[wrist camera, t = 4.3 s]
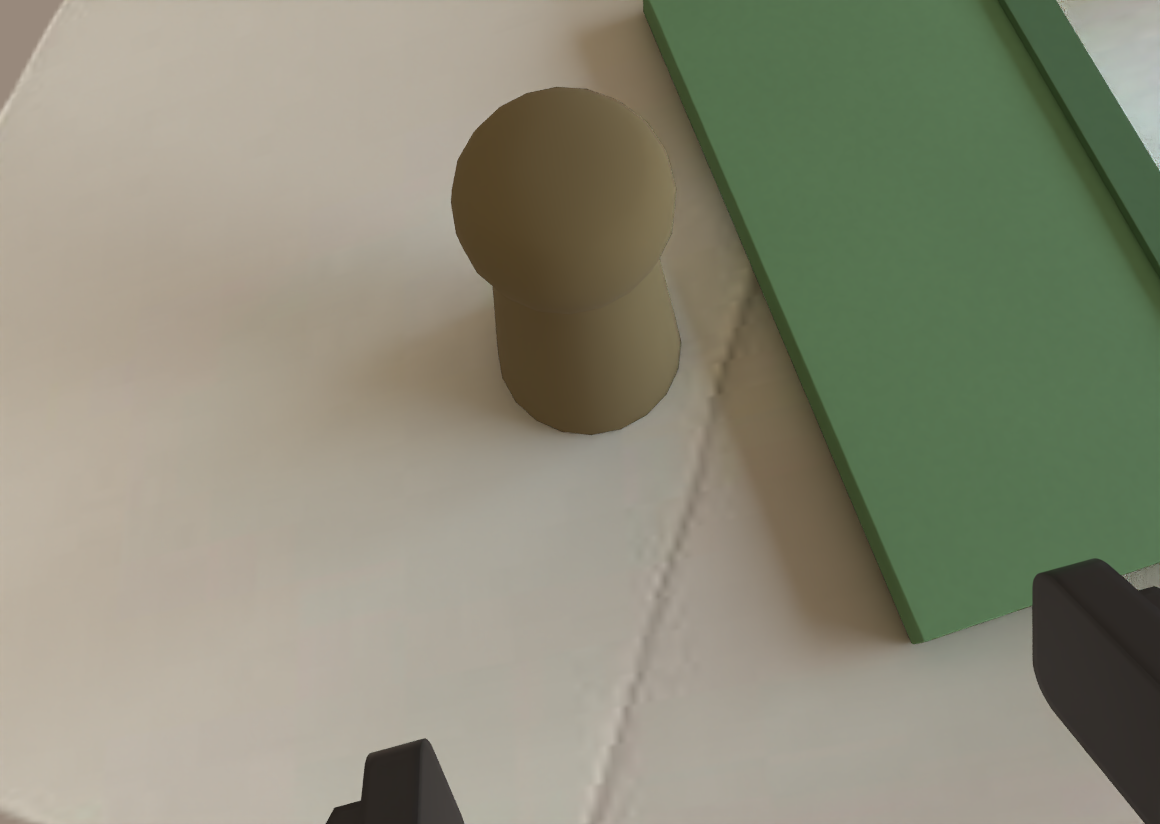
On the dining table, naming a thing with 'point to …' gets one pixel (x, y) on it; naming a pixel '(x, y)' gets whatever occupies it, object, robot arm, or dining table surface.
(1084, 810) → the dining table surface
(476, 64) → the dining table surface
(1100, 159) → the green flat rectangular block
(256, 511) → the dining table surface
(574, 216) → the cork
